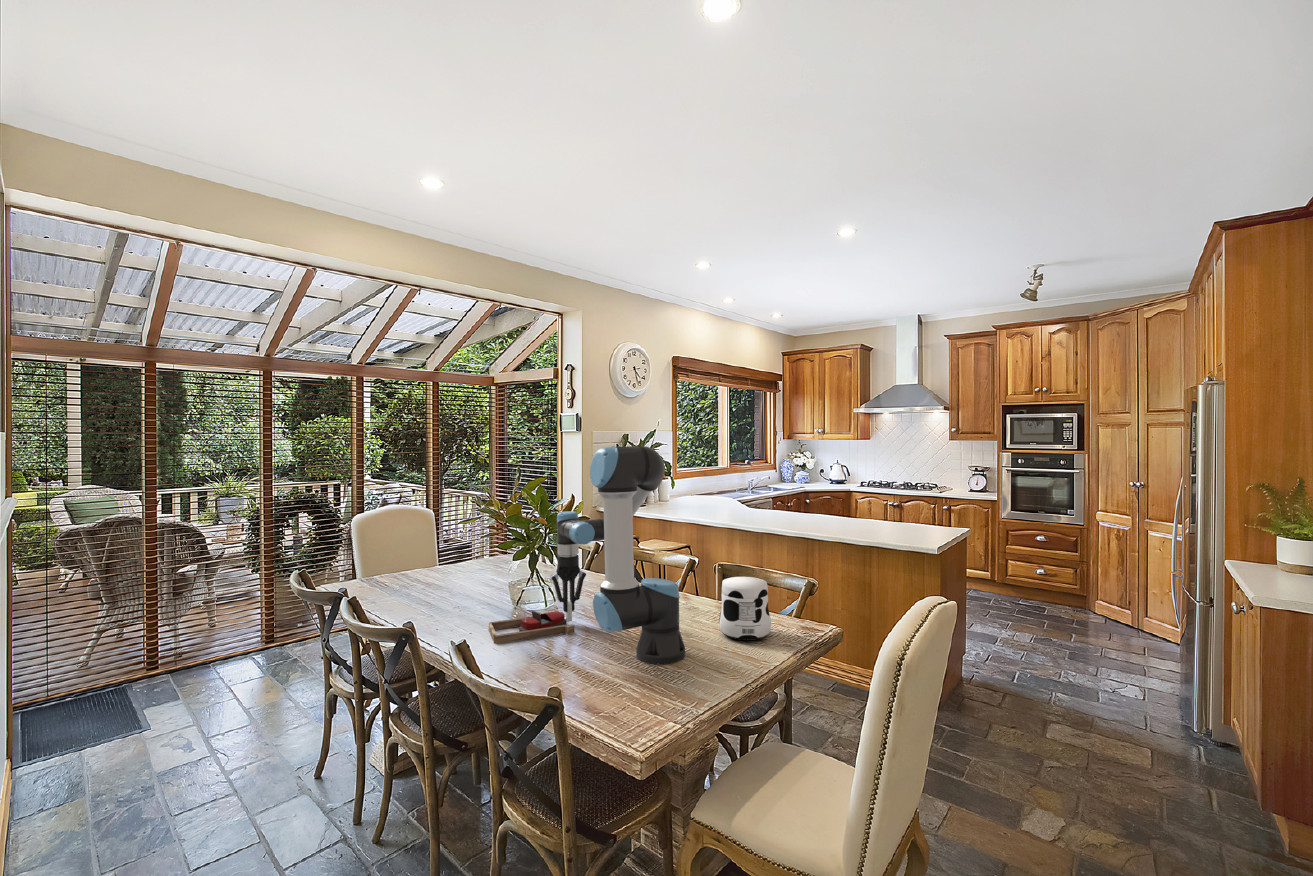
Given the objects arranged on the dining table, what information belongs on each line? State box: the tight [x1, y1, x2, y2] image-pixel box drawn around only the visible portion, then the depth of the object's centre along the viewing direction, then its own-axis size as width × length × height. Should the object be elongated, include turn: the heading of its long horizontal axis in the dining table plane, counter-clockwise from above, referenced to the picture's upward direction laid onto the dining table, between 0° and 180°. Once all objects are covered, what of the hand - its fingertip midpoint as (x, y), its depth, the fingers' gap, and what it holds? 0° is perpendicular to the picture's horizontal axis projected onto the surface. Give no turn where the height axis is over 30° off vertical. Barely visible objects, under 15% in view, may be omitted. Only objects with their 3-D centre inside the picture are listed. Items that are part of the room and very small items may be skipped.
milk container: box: [718, 576, 772, 641], centre depth 194 cm, size 17×17×18 cm
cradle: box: [488, 611, 576, 645], centre depth 201 cm, size 19×27×2 cm
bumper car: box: [513, 606, 568, 632], centre depth 203 cm, size 10×20×10 cm, turn 135°
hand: (569, 620), depth 207 cm, fingers closed
